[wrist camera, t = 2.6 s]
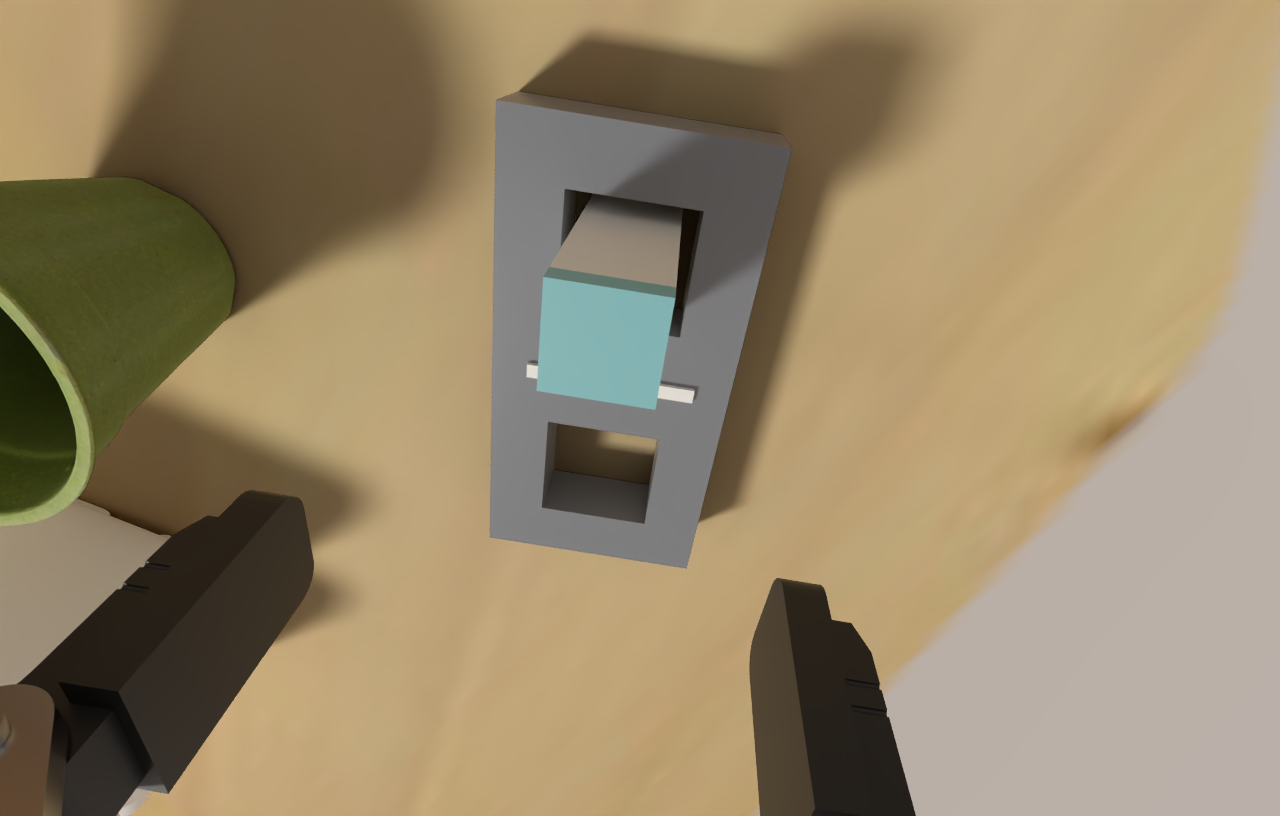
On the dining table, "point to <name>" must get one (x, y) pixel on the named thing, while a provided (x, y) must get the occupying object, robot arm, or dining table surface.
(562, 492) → the socket board
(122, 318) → the plant pot
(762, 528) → the dining table surface
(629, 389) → the plug peg
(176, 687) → the robot arm
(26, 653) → the cable organizer
